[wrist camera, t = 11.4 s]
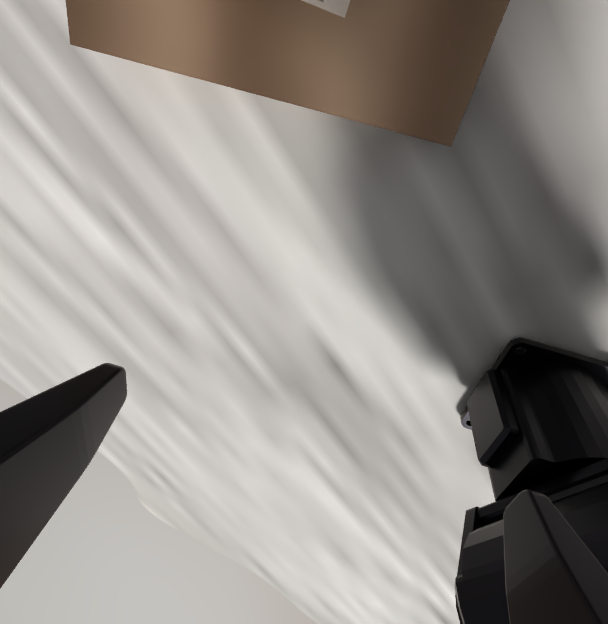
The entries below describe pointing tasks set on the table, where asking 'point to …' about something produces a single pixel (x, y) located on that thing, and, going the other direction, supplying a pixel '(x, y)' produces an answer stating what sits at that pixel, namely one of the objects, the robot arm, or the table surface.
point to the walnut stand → (312, 52)
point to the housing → (331, 6)
